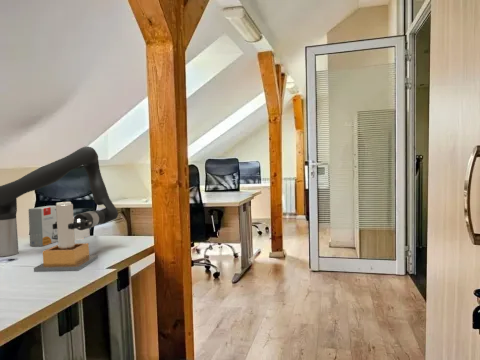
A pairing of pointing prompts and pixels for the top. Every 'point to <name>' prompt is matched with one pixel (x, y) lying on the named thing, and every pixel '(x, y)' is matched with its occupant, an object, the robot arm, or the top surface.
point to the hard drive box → (42, 225)
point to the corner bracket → (81, 234)
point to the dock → (66, 259)
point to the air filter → (65, 226)
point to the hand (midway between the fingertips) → (62, 226)
